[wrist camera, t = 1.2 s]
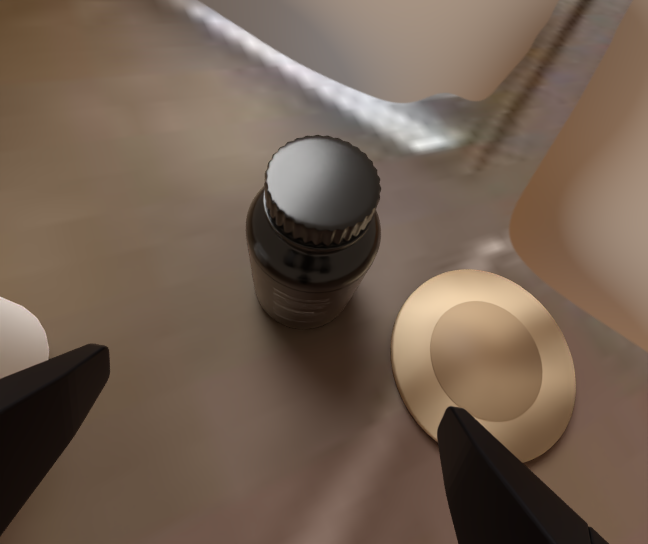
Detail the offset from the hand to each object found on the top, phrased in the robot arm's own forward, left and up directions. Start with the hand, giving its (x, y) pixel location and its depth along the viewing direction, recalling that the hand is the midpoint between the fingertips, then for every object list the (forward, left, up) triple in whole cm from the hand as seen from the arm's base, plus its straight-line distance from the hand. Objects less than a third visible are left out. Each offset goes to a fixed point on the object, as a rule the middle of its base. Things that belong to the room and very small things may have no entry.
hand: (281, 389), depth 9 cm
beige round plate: (-5, -13, -14) cm, 20 cm away
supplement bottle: (+6, -5, -14) cm, 16 cm away
